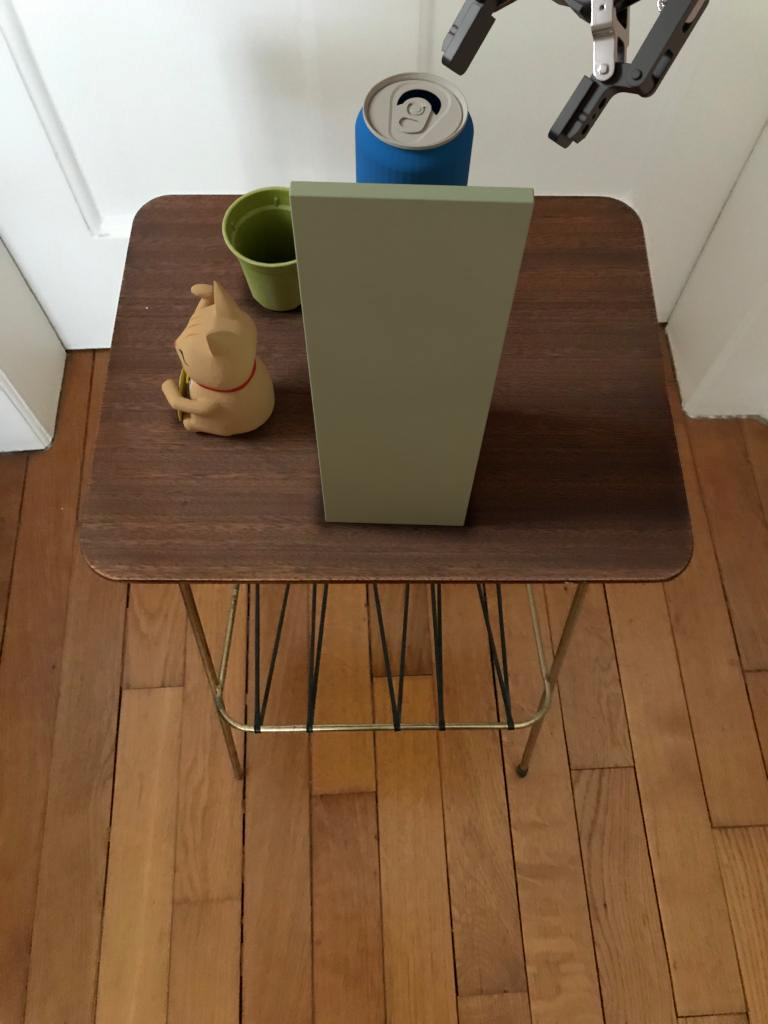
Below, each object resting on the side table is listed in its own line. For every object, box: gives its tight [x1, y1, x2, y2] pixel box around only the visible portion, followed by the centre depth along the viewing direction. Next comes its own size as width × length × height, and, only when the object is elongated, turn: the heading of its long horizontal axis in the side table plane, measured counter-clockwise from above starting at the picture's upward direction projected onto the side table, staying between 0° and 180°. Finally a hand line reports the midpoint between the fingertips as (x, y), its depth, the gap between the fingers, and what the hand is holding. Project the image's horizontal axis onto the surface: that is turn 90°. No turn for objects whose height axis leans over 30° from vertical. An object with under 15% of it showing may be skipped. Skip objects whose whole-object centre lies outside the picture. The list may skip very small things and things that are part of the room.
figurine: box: [161, 280, 276, 437], centre depth 76 cm, size 9×10×15 cm
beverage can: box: [354, 71, 475, 186], centre depth 53 cm, size 6×6×12 cm
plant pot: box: [221, 185, 301, 312], centre depth 85 cm, size 9×9×9 cm
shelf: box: [289, 180, 536, 527], centre depth 64 cm, size 12×12×38 cm
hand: (502, 105), depth 54 cm, fingers open, 8 cm apart
